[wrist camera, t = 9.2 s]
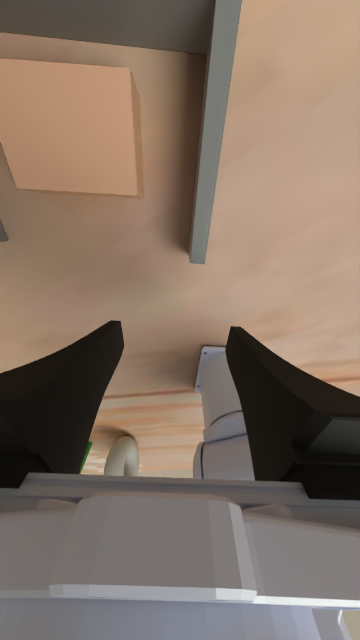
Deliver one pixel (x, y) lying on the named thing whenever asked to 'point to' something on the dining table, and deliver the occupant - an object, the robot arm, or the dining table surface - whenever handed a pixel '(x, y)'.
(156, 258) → the dining table surface
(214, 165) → the box
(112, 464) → the donut
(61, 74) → the tan flat block
